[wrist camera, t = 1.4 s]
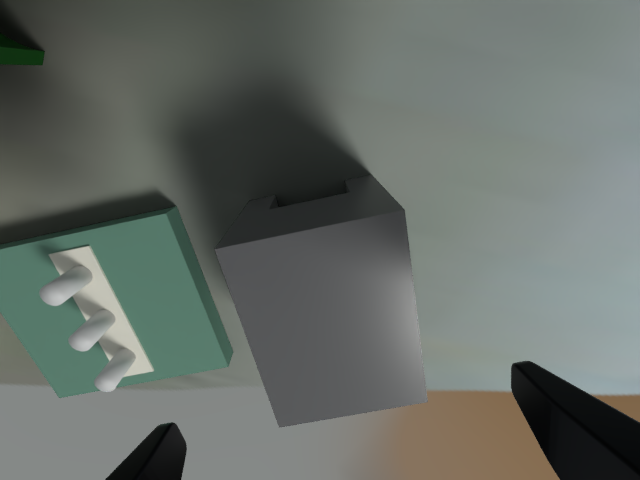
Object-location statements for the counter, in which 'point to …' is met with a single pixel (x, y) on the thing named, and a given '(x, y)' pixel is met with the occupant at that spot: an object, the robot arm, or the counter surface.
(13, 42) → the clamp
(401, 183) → the counter surface
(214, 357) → the pin board
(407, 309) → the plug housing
